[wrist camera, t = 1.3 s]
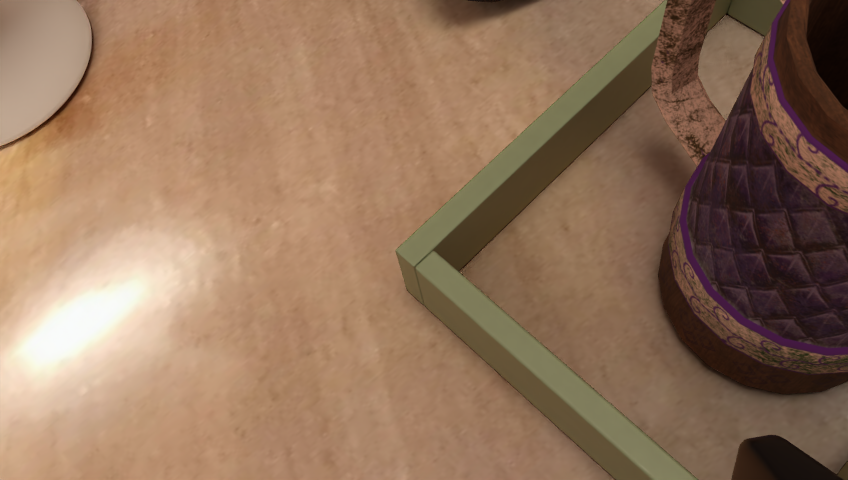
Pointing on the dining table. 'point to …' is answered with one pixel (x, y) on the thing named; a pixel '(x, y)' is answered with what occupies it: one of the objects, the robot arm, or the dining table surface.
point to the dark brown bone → (485, 0)
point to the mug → (761, 200)
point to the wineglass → (39, 61)
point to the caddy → (507, 196)
